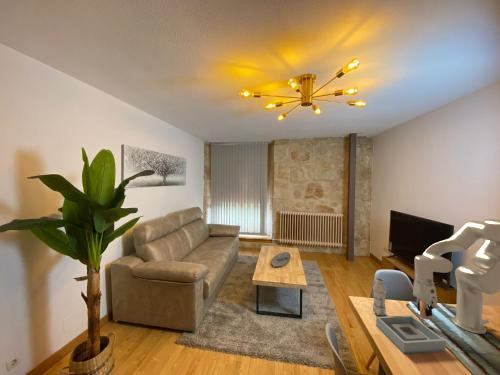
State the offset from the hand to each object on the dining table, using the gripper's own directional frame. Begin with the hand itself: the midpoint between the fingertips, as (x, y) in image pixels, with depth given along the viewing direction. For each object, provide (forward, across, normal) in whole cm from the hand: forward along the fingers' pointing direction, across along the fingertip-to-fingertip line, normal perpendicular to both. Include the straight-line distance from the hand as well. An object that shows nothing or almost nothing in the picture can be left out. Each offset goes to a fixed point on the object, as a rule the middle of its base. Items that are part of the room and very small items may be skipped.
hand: (424, 312), depth 113 cm
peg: (+2, 0, 0) cm, 2 cm away
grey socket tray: (+5, -9, +18) cm, 20 cm away
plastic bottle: (+5, +10, +19) cm, 22 cm away
